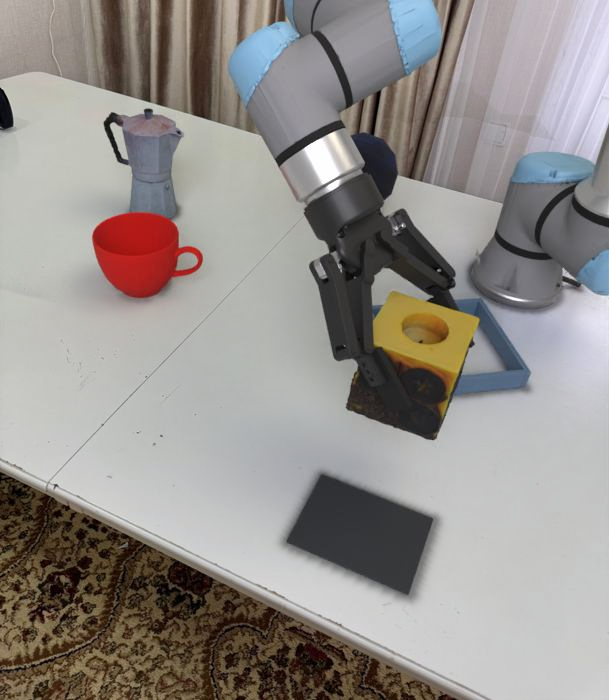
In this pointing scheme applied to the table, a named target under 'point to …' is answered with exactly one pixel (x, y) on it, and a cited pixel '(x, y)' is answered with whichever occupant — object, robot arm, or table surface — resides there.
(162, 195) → the moka pot
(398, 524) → the mat
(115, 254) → the ceramic cup
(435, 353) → the candle
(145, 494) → the table surface
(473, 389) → the blue open square frame
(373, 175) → the decorative orb
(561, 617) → the table surface
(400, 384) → the robot arm
